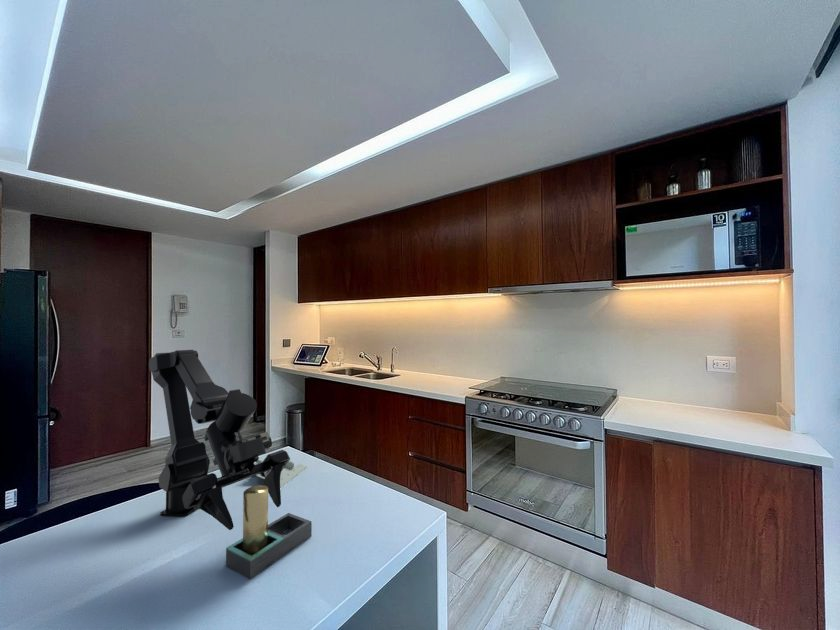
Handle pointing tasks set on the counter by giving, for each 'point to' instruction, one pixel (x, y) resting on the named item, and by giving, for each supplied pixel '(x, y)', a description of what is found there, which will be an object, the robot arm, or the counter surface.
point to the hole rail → (269, 546)
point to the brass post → (255, 519)
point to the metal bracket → (286, 472)
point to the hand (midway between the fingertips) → (256, 516)
